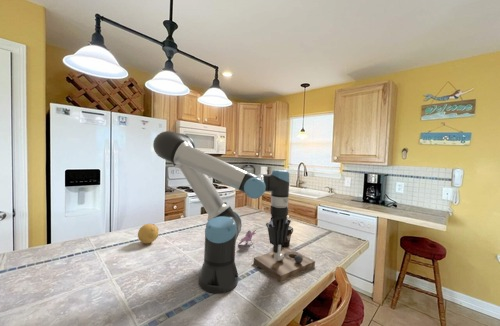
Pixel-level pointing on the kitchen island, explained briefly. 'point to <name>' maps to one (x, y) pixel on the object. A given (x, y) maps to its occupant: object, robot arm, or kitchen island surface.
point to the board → (283, 264)
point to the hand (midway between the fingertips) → (277, 259)
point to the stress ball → (148, 233)
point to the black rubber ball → (298, 259)
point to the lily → (248, 237)
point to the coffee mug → (288, 237)
